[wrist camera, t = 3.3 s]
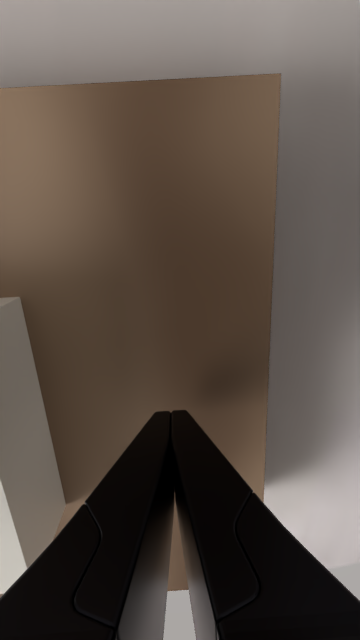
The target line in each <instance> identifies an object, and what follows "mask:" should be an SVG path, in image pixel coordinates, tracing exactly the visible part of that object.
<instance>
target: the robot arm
mask: <svg viewBox="0 0 360 640" xmlns="http://www.w3.org/2000/svg"><path fill="white" fill-rule="evenodd" d="M175 502H176V510H177V517H178V523H179V530H180V536H181V543H182V549H183V556H184V562H185V569H186V575H187V582H188V588H189V594H190V601H191V608H192V614H193V621H194V627H195V634H196V640H360V601H359V600H358V599H357V598H356V597H355V596H354V595H353V594H352V593H351V592H350V591H349V590H348V589H347V588H346V587H345V586H344V585H343V584H342V583H341V582H340V581H339V580H338V579H337V578H336V577H335V576H333V574H331V573H330V572H329V571H328V570H327V569H326V568H325V567H324V566H323V565H322V564H321V563H320V562H319V561H318V560H317V559H316V558H315V557H314V556H313V555H312V554H311V553H310V552H309V551H308V550H307V549H306V548H305V547H304V546H303V545H302V544H301V543H300V542H299V541H298V540H297V539H296V538H295V537H294V536H293V535H292V534H291V533H290V532H289V531H288V530H287V529H286V528H285V527H284V526H283V525H282V524H281V522H280V521H279V520H278V519H277V518H276V517H275V516H274V515H273V513H272V512H271V511H270V510H269V509H268V508H267V507H266V505H265V504H264V503H263V502H262V500H261V499H260V498H259V497H258V496H257V494H256V493H253V490H252V488H251V487H250V486H249V485H248V484H247V482H246V481H245V480H244V479H243V478H242V476H241V475H240V474H239V473H238V472H237V470H236V469H235V468H234V467H233V465H232V464H231V463H230V462H229V461H228V459H227V458H226V457H225V456H224V455H223V453H222V452H221V451H220V450H219V449H218V447H217V446H216V445H215V444H214V442H213V441H212V440H211V439H210V438H209V436H208V435H207V434H206V433H205V432H204V430H203V429H202V428H201V427H200V425H199V424H198V423H197V422H196V421H195V419H194V418H193V417H192V416H191V415H190V413H189V412H188V411H187V410H173V411H172V412H170V411H157V412H155V413H154V414H153V415H152V416H151V418H150V419H149V420H148V421H147V423H146V424H145V425H144V426H143V428H142V429H141V430H140V432H139V433H138V434H137V435H136V437H135V438H134V439H133V441H132V442H131V443H130V444H129V446H128V447H127V448H126V449H125V451H124V452H123V453H122V455H121V456H120V457H119V458H118V460H117V461H116V462H115V463H114V465H113V466H112V467H111V469H110V470H109V471H108V472H107V474H106V475H105V476H104V478H103V479H102V480H101V481H100V483H99V484H98V485H97V486H96V488H95V489H94V490H93V492H92V493H91V494H90V495H89V497H88V498H87V499H86V500H85V502H84V504H83V505H81V507H80V508H79V509H78V510H77V512H76V513H75V514H74V516H73V517H72V518H71V519H70V521H69V522H68V523H67V524H66V525H65V527H64V528H63V529H62V530H61V531H60V533H59V534H58V535H57V536H56V537H55V539H54V540H53V541H52V542H51V543H50V544H49V545H48V547H47V548H46V549H45V550H44V551H43V552H42V553H41V554H40V555H39V556H38V558H37V559H36V560H35V561H34V562H33V563H32V564H31V565H30V566H29V567H28V569H27V570H26V571H25V572H24V573H23V574H22V575H21V576H20V577H19V578H18V579H17V580H16V581H15V582H14V583H13V584H12V585H11V587H10V588H9V589H8V590H7V591H6V592H5V593H4V594H3V595H2V596H1V597H0V640H163V633H164V622H165V611H166V599H167V588H168V576H169V565H170V553H171V542H172V530H173V519H174V505H175Z"/></svg>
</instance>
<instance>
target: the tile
mask: <svg viewBox="0 0 360 640" xmlns="http://www.w3.org/2000/svg"><path fill="white" fill-rule="evenodd" d="M65 506H66V503H65V498H64V494H63V489H62V485H61V480H60V476H59V471H58V467H57V462H56V458H55V453H54V449H53V444H52V439H51V435H50V430H49V426H48V421H47V417H46V412H45V408H44V403H43V399H42V394H41V390H40V385H39V381H38V376H37V372H36V367H35V363H34V358H33V354H32V349H31V345H30V340H29V336H28V331H27V327H26V322H25V318H24V313H23V309H22V304H21V300H20V297H8V298H0V594H4V593H5V592H6V591H7V590H8V589H9V588H10V587H11V585H12V584H13V583H14V582H15V581H16V580H17V579H18V578H19V577H20V576H21V575H22V574H23V573H24V572H25V571H26V570H27V569H28V567H29V566H30V565H31V564H32V563H33V562H34V561H35V560H36V559H37V558H38V556H39V555H40V554H41V553H42V552H43V551H44V550H45V549H46V548H47V547H48V545H49V544H50V543H51V542H52V541H53V538H54V536H55V533H56V530H57V527H58V525H59V522H60V519H61V517H62V514H63V511H64V508H65Z"/></svg>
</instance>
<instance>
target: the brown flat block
mask: <svg viewBox="0 0 360 640" xmlns="http://www.w3.org/2000/svg"><path fill="white" fill-rule="evenodd" d="M280 84H281V74H263V75H244V76H225V77H206V78H187V79H167V80H148V81H129V82H110V83H91V84H72V85H53V86H34V87H15V88H0V298H8V297H20V300H21V304H22V309H23V313H24V318H25V322H26V327H27V331H28V336H29V340H30V345H31V349H32V354H33V358H34V363H35V367H36V372H37V376H38V381H39V385H40V390H41V394H42V399H43V403H44V408H45V412H46V417H47V421H48V426H49V430H50V435H51V439H52V444H53V449H54V453H55V458H56V462H57V467H58V471H59V476H60V480H61V485H62V489H63V494H64V498H65V503H66V506H65V508H64V511H63V514H62V517H61V519H60V522H59V525H58V527H57V530H56V533H55V536H54V538H53V540H54V539H55V537H56V536H57V535H58V534H59V533H60V531H61V530H62V529H63V528H64V527H65V525H66V524H67V523H68V522H69V521H70V519H71V518H72V517H73V516H74V514H75V513H76V512H77V510H78V509H79V508H80V507H81V505H83V504H84V502H85V500H86V499H87V498H88V497H89V495H90V494H91V493H92V492H93V490H94V489H95V488H96V486H97V485H98V484H99V483H100V481H101V480H102V479H103V478H104V476H105V475H106V474H107V472H108V471H109V470H110V469H111V467H112V466H113V465H114V463H115V462H116V461H117V460H118V458H119V457H120V456H121V455H122V453H123V452H124V451H125V449H126V448H127V447H128V446H129V444H130V443H131V442H132V441H133V439H134V438H135V437H136V435H137V434H138V433H139V432H140V430H141V429H142V428H143V426H144V425H145V424H146V423H147V421H148V420H149V419H150V418H151V416H152V415H153V414H154V413H155V412H157V411H170V412H172V411H173V410H187V411H188V412H189V413H190V415H191V416H192V417H193V418H194V419H195V421H196V422H197V423H198V424H199V425H200V427H201V428H202V429H203V430H204V432H205V433H206V434H207V435H208V436H209V438H210V439H211V440H212V441H213V442H214V444H215V445H216V446H217V447H218V449H219V450H220V451H221V452H222V453H223V455H224V456H225V457H226V458H227V459H228V461H229V462H230V463H231V464H232V465H233V467H234V468H235V469H236V470H237V472H238V473H239V474H240V475H241V476H242V478H243V479H244V480H245V481H246V482H247V484H248V485H249V486H250V487H251V488H252V490H253V493H256V494H257V496H258V497H259V498H260V499H261V500H262V502H263V499H264V475H265V450H266V426H267V402H268V377H269V353H270V328H271V304H272V279H273V255H274V230H275V206H276V181H277V157H278V132H279V108H280ZM176 590H189V588H188V582H187V575H186V569H185V562H184V556H183V549H182V543H181V536H180V530H179V523H178V517H177V510H176V502H175V505H174V519H173V530H172V542H171V553H170V565H169V576H168V588H167V591H176ZM2 595H3V594H0V597H1V596H2Z"/></svg>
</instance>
